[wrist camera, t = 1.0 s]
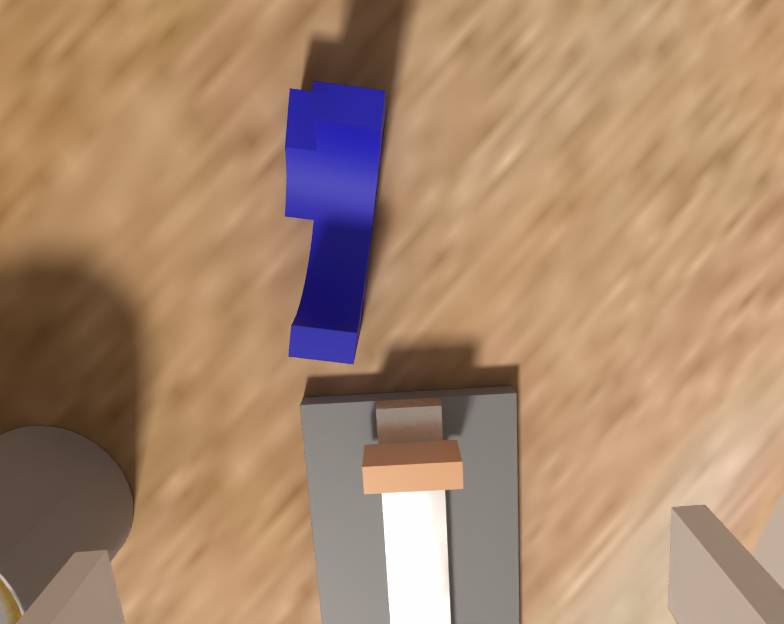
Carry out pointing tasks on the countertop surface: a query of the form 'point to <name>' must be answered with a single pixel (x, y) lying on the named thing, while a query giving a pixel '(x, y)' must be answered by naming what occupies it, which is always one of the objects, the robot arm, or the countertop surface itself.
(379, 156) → the cable clip
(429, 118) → the countertop surface
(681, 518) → the robot arm
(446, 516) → the rail mount
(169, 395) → the countertop surface
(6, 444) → the coffee mug
